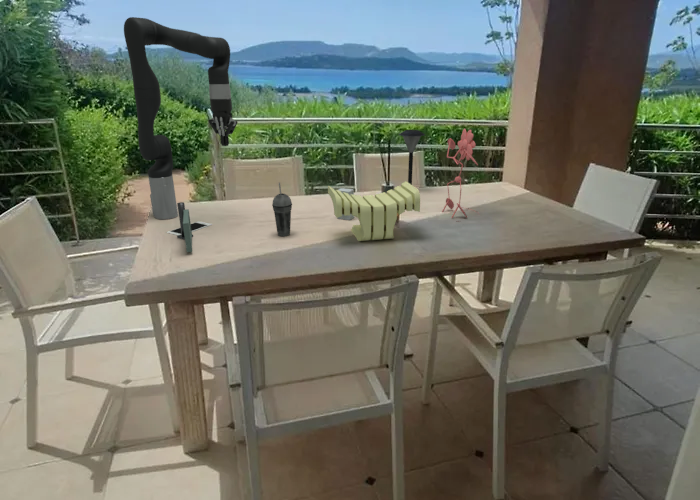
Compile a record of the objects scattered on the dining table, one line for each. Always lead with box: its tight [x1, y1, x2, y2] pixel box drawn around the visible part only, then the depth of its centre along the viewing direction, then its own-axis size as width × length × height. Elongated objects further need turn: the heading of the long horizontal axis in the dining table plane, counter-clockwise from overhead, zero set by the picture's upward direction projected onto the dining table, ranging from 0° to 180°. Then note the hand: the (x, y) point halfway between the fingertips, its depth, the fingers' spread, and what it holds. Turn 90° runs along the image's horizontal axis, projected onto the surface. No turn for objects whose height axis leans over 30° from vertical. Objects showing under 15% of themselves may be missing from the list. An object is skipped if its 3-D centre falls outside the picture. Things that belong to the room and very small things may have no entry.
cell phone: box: [166, 220, 213, 237], centre depth 190 cm, size 8×16×1 cm, turn 148°
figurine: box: [441, 128, 479, 223], centre depth 200 cm, size 15×26×35 cm, turn 15°
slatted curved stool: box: [327, 180, 421, 242], centre depth 178 cm, size 30×16×18 cm, turn 103°
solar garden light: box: [398, 129, 426, 186], centre depth 233 cm, size 12×12×30 cm
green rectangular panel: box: [183, 208, 193, 253], centre depth 169 cm, size 17×2×10 cm, turn 17°
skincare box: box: [336, 187, 355, 221], centre depth 199 cm, size 6×4×12 cm
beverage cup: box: [272, 182, 293, 237], centre depth 179 cm, size 7×7×20 cm
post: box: [176, 201, 194, 241], centre depth 178 cm, size 4×4×13 cm
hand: (225, 145), depth 183 cm, fingers closed
